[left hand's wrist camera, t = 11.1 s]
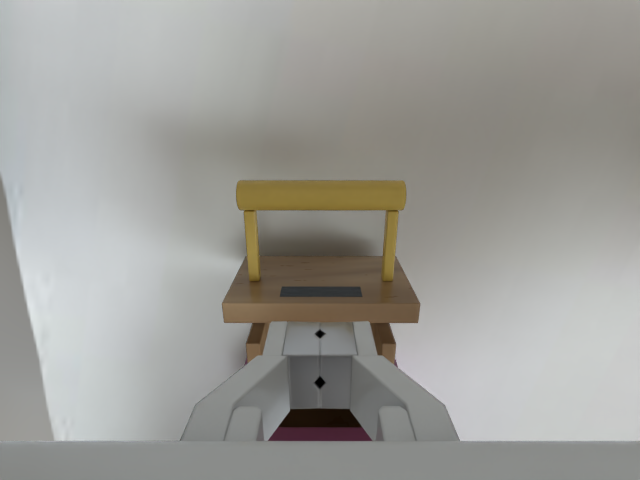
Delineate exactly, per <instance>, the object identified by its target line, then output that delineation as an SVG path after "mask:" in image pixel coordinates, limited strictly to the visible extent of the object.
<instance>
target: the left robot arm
mask: <svg viewBox="0 0 640 480" xmlns="http://www.w3.org/2000/svg"><path fill="white" fill-rule="evenodd" d="M312 408H327V409H350V411H351V412H352V414H353V415H354V417H355V418H356V419H357V421H358V422H359V423H360V425H361V426H362V427H363V429H364V430H365V431H366V433H367V434H368V435H369V437H370V438H371V439H372V441H268V440H269V438H270V437H271V436H272V434H273V433H274V432H275V430H276V429H277V428H278V426H279V425H280V424H281V422H282V421H283V420H284V418H285V417H286V416H287V414H288V413H289V412H290V409H312ZM0 480H640V441H460V440H459V437H458V435H457V433H456V430H455V428H454V425H453V423H452V421H451V418H450V416H449V414H448V411H447V409H446V406H445V405H444V404H443V403H442V402H440V401H439V400H438V399H437V398H435V397H434V396H433V395H431V394H430V393H429V392H428V391H426V390H425V389H424V388H423V387H421V386H420V385H419V384H418V383H416V382H415V381H414V380H413V379H411V378H410V377H409V376H408V375H406V374H405V373H404V372H403V371H401V370H400V369H399V368H398V367H396V366H395V365H394V364H392V363H391V362H390V361H389V360H387V359H386V358H385V357H384V356H381V355H377V351H376V347H375V342H374V338H373V334H372V330H371V326H370V322H368V321H358V322H324V323H320V322H291V321H288V322H287V321H272V322H271V323H270V325H269V330H268V334H267V338H266V342H265V347H264V351H263V355H260V356H256V357H255V358H254V359H253V360H251V361H250V362H249V363H248V364H246V365H245V366H244V367H242V368H241V369H240V370H239V371H237V372H236V373H235V374H234V375H232V376H231V377H230V378H229V379H227V380H226V381H225V382H223V383H222V384H221V385H220V386H218V387H217V388H216V389H215V390H213V391H212V392H211V393H210V394H208V395H207V396H206V397H205V398H203V399H202V400H201V401H199V402H198V403H197V404H196V405H195V407H194V409H193V412H192V414H191V416H190V419H189V421H188V423H187V426H186V428H185V430H184V433H183V435H182V437H181V440H180V441H0Z"/></svg>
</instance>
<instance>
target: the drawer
mask: <svg viewBox="0 0 640 480" xmlns="http://www.w3.org/2000/svg"><path fill="white" fill-rule="evenodd" d="M236 200H237V206H238V208H239V210H245V211H244V223H245V235H246V247H247V256H246V257H245V259H244V261H243V263H242V265H241V267H240V269H239V271H238V273H237V275H236V277H235V279H234V281H233V283H232V285H231V287H230V289H229V290H228V292H227V294H226V296H225V298H224V300H223V302H222V309H223V318H224V323H252V326H251V329H250V332H249V336H248V339H247V342H246V352H247V363H249V362H250V361H251V360H253V359H254V358H255V357H256V356H260V355H263V351H264V347H265V342H266V338H267V334H268V330H269V325H270V323H271V322H272V321H287V322H288V321H291V322H320V323H324V322H358V321H368V322H370V326H371V330H372V334H373V338H374V342H375V347H376V351H377V355H381V356H384V357H385V358H386V359H387V360H389V361H390V362H391V363H392V364H394V361H395V351H396V342H395V339H394V336H393V333H392V330H391V327H390V324H389V323H418V319H419V311H420V302H419V300H418V298H417V296H416V294H415V292H414V290H413V288H412V287H411V285H410V283H409V281H408V279H407V277H406V275H405V273H404V271H403V269H402V267H401V265H400V263H399V261H398V259H397V257H396V256H395V249H396V237H397V225H398V213H399V212H398V210H403V209H404V207H405V203H406V185H405V182H404V181H403V180H239V181H238V183H237V187H236ZM256 210H386V216H385V230H384V244H383V256H259V242H258V227H257V213H256ZM278 427H362V426H361V425H360V423H359V422H358V421H357V419H356V418H355V417H354V415H353V414H352V412H351V411H350V409H327V408H312V409H290V412H289V413H288V414H287V416H286V417H285V418H284V420H283V421H282V422H281V424H280V425H279V426H278Z"/></svg>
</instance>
